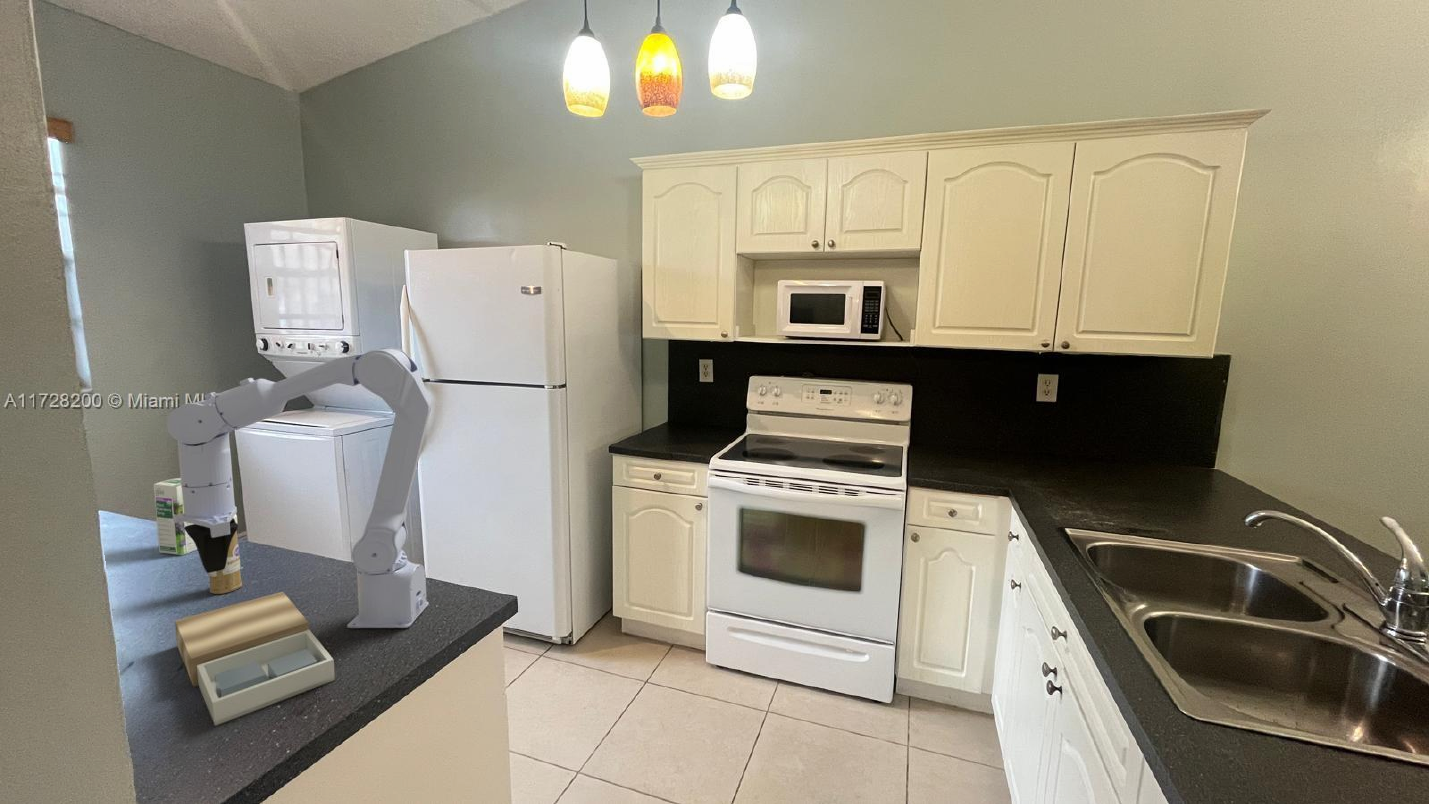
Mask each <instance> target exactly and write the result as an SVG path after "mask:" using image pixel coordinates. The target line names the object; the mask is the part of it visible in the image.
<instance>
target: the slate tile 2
mask: <svg viewBox="0 0 1429 804" xmlns="http://www.w3.org/2000/svg"><path fill="white" fill-rule="evenodd" d="M316 663H317V660H316V659H315V658H314V657H313V656H312V654H311V653H310V652H309V651H308V650H307V649H304V650H301V651H298V652H295V653H293V654H290V655H287V656H284V657H281V658H278V659H275V660H272V661H269V662H267V665H268V676H269V678H270V679H274V678H277V677H280V676H282V675H285V674H288V673H291V672H294V671H296V670H299V669H302V668H305V667H308V666H310V665H313V664H316Z"/></svg>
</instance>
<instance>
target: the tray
mask: <svg viewBox="0 0 1429 804" xmlns="http://www.w3.org/2000/svg"><path fill="white" fill-rule="evenodd" d="M304 649H307V650H308V651H309V652H310V653H311V654H312V656H313V657H314V658H315V659H316V660H317V663H316V664H313V665H310V666H308V667H305V668H302V669H299V670H296V671H294V672H291V673H288V674H285V675H282V676H280V677H277V678H274V679H270V678H269V676H268V665H267V662H269V661H272V660H275V659H278V658H281V657H284V656H287V655H290V654H293V653H295V652H298V651H301V650H304ZM255 661H258V662H259V663H260V665H261V667H262V668H263V670H264V671H265V673H266V678H267V681H266V682H263V683H260V684H257V685H255V686H252V687H249V688H246V689H243V690H241V691H238V692H235V693H232V694H229V695H227V696H224V697H221V698H220V697H219V695H218V693H217V691H216V686H215V674H218V673H221V672H224V671H227V670H230V669H234V668H237V667H240V666H243V665H246V664H249V663H252V662H255ZM197 673H198V684H199V685H198V688H199V690H200V694H201V696H202V698H203V701H204V703H205V705H206V707H207V710H208V713H209V715H210V717H211V720H212V722H213V725H214V726H215V727H216V726H219V725H222V724H223V723H226V722H229V721H231V720H234V719H237V718H240V717H243V716H245V715H247V714H250V713H253V712H255V711H258V710H261V709H263V708H266V707H268V706H270V705H273V704H276V703H278V702H281V701H284V700H286V699H289V698H292V697H294V696H297V695H299V694H303V693H305V692H307V691H310V690H313V689H315V688H317V687H320V686H323V685H326V684H328V683H331V682H333V681H335V680H336V677H335V674H336V673H335V661H334V658H333V657H332V656H331V654H330V653H329V652H328V651H327V649H325V647H324V646H323V644H322V643H321V642H320V640H318V638H316V636H315V635H314V634H313V633H312V631H311V630H310V629H309V630H306V631H303V632H300V633H297V634H294V635H291V636H287V637H284V638H281V639H278V640H275V641H272V642H269V643H265V644H262V645H259V646H256V647H253V648H250V649H247V650H243V651H240V652H237V653H234V654H231V655H228V656H224V657H221V658H218V659H215V660H212V661H209V662H206V663H202V664H199V665H197Z"/></svg>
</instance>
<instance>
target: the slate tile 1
mask: <svg viewBox="0 0 1429 804" xmlns="http://www.w3.org/2000/svg"><path fill="white" fill-rule="evenodd" d="M266 681H267V678H266V673H265V671H264V670H263V668H262V667H261V665H260V663H259V662H258V661H255V662H252V663H249V664H246V665H243V666H240V667H237V668H234V669H230V670H227V671H224V672H221V673H218V674H215V686H216V691H217V693H218V695H219V697H220V698H221V697H224V696H227V695H229V694H232V693H235V692H238V691H241V690H243V689H246V688H249V687H252V686H255V685H257V684H260V683H263V682H266Z"/></svg>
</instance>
